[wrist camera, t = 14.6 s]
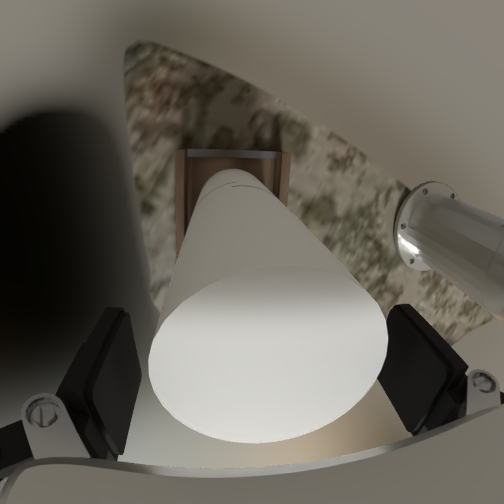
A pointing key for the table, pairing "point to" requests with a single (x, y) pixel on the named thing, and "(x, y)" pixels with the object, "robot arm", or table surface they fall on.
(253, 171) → the brown wooden tray
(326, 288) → the cylindrical container
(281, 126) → the table surface
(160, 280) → the table surface
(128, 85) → the table surface
